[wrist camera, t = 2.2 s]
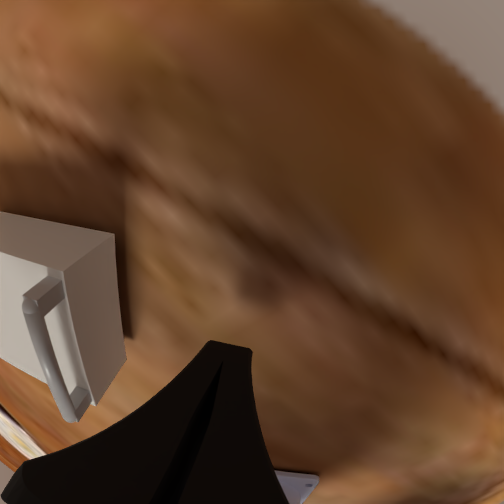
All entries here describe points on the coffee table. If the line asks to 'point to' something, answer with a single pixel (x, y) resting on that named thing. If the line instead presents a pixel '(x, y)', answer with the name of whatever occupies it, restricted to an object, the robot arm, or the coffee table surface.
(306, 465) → the coffee table surface
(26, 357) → the white box with handle
